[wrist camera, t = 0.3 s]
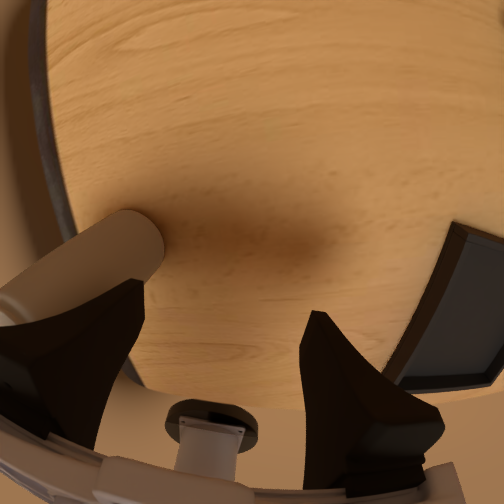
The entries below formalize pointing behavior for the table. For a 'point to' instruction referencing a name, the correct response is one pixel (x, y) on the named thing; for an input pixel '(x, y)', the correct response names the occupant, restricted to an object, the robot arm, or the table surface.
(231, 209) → the table surface
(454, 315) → the tray
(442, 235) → the table surface
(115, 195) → the table surface
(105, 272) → the beverage can
